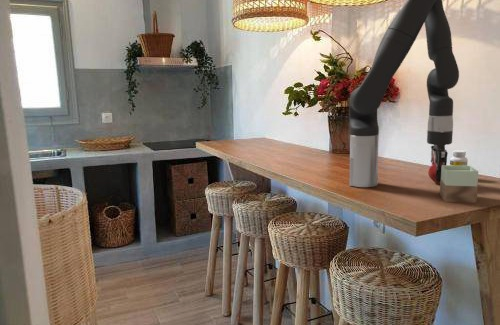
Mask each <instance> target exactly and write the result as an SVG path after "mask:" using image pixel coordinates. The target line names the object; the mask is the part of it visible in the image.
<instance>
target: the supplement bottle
mask: <svg viewBox="0 0 500 325" xmlns="http://www.w3.org/2000/svg"><path fill="white" fill-rule="evenodd" d="M466 154H467V151H466V150H462V149H461V150H460V149H459V150H458V149H456V150H453V151H452V157H450V159H449V165H452V166H468V158H467V157H466Z"/></svg>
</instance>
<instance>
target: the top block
mask: <svg viewBox="0 0 500 325" xmlns="http://www.w3.org/2000/svg"><path fill="white" fill-rule="evenodd" d="M441 180H442V181H443V182H444V184H445V185H449V186H478V184H479V183H478V182H479V170H477V169H476V168H475V167H473V166H472V165H467V166H452V165H450V164H449V165H442V168H441Z"/></svg>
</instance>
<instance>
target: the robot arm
mask: <svg viewBox="0 0 500 325" xmlns="http://www.w3.org/2000/svg"><path fill="white" fill-rule="evenodd" d="M423 26H425V27H424V28H425V38H426V48H427V55H428V58H429V60H431V61H433V63H434V68H433V69H431V70H430V71H429V72H428V73H427V74H428V75H427V77H426V90H427V96H428V100H429V106H428V107H429V108H428V119H427V120H428V121H427V130H426V131H427V132H426V143H427V144H430V145H431V146H430V148H431V152H430V154H431V155H430V163H431V166H432V165H433V164H436V181H438V182H440V179H441V168H442V166H440V164H442V165H447V164H448V163H447V162H448V154H449V153H448V151H447V149H446V145H451V144H452V143H453V134H454V132H453V131H454V118H453V114H454V100H453V98H452V97H451V96H449V90H450V89H453V88H455V86H456V85H457V84H458V82H459V80H460V71H459V67H458V62H457V60H456V57H455V55H454V51H453V40H452V32H451V27H450V23H449V20H448V18H447V16H446V12H445V8H444V5H443V0H407V1H406V2H405V3H404V4H403V6H402V7H401V8H400V9H399V11H398V12H397V14H396V15H395V17H393V19H392V21H391V22H390V24H389V25H388V27H387V29H386V31H385V32H384V34H383V37H382V38H381V41H380V42H379V45H378V47H377V50H376V53H375V56H374V59H373V62H372V64H371V67H370V69H369V71H368V73H367V74H366V76H365V78H364V79H363V81H362V83H361V84H360V85H359V86H358V87H356V88H355V89H354V90H352V92H351V94H350V95H349V98H348V99H349V102H348V106H349V107H348V110H349V111H348V115H349V117H348V119H349V120H348V121H349V123H348V124H349V187H356V188H357V187H358V188H374V187H377V186H378V184H379V183H378V180H379V179H378V178H379V176H378V175H379V142H380V141H379V140H380V139H379V138H380V137H379V133H380V132H379V131H380V130H379V128H380V127H379V120H378V109H379V108H380V106H381V104H382V101H383V99H384V96H385V94H386V93H387V90H388V88H389V86H390V83H391V81H392V79H393V77H394V76H395V74H396V73H397V71H398V69H399V68H400V67H401V65H402V64H403V62H404V60H405V58H406V57H407V55H408V54H409V52H410V50H411V48H412V47H413V45H414V43H415V41H416V39H417V37H418V35H419V34H420V32H421V30H422V27H423Z"/></svg>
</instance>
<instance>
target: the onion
mask: <svg viewBox="0 0 500 325" xmlns="http://www.w3.org/2000/svg"><path fill="white" fill-rule="evenodd" d="M440 166H442V164H440ZM427 174H428V177H429V179H431V180H432V181H433V182H434V183H435V184H437V185H439V184H440V182H438V181H436V164H433V165H432V164H431V165H430V167H429V168H428V173H427Z"/></svg>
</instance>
